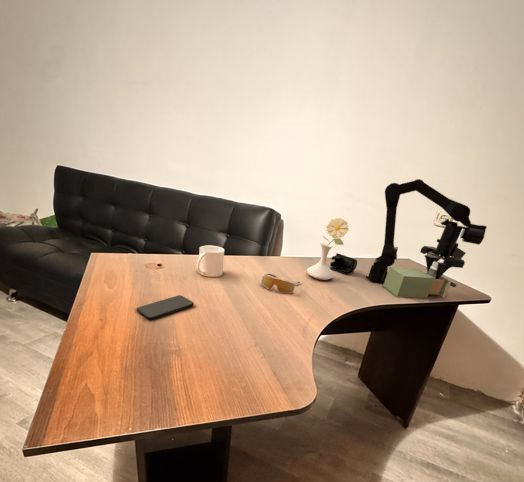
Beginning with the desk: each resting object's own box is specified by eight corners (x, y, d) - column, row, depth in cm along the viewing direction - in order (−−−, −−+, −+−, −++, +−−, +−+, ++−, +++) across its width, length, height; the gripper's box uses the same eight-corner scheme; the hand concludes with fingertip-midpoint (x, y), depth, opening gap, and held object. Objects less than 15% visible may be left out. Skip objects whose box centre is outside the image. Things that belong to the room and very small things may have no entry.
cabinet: (411, 287, 131) (418, 268, 127) (426, 298, 122) (435, 278, 118) (383, 285, 128) (389, 266, 124) (396, 296, 119) (404, 276, 115)
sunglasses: (255, 286, 109) (257, 273, 107) (269, 280, 123) (271, 268, 121) (292, 297, 105) (295, 283, 104) (302, 289, 119) (305, 276, 117)
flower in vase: (300, 275, 127) (313, 213, 115) (315, 270, 135) (327, 212, 123) (327, 285, 120) (343, 221, 108) (341, 280, 128) (357, 219, 116)
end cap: (354, 272, 139) (359, 258, 136) (347, 275, 134) (351, 260, 131) (336, 266, 145) (339, 252, 142) (328, 268, 140) (331, 254, 137)
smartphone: (134, 307, 83) (180, 294, 94) (134, 310, 84) (180, 297, 94) (149, 318, 79) (195, 303, 90) (149, 321, 80) (195, 305, 90)
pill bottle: (432, 284, 122) (440, 265, 118) (422, 280, 126) (429, 261, 122) (439, 284, 124) (447, 264, 120) (429, 279, 128) (437, 260, 124)
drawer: (439, 287, 133) (446, 273, 130) (454, 296, 125) (462, 281, 122) (404, 285, 129) (410, 270, 126) (418, 295, 121) (424, 279, 118)
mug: (212, 267, 122) (214, 244, 117) (227, 274, 117) (229, 251, 112) (187, 272, 114) (187, 247, 109) (202, 280, 109) (202, 255, 104)
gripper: (485, 247, 110) (466, 286, 118) (449, 234, 126) (434, 269, 134) (459, 244, 108) (441, 285, 115) (426, 232, 124) (412, 268, 131)
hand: (432, 276), depth 124 cm, fingers closed on pill bottle, 5 cm apart
